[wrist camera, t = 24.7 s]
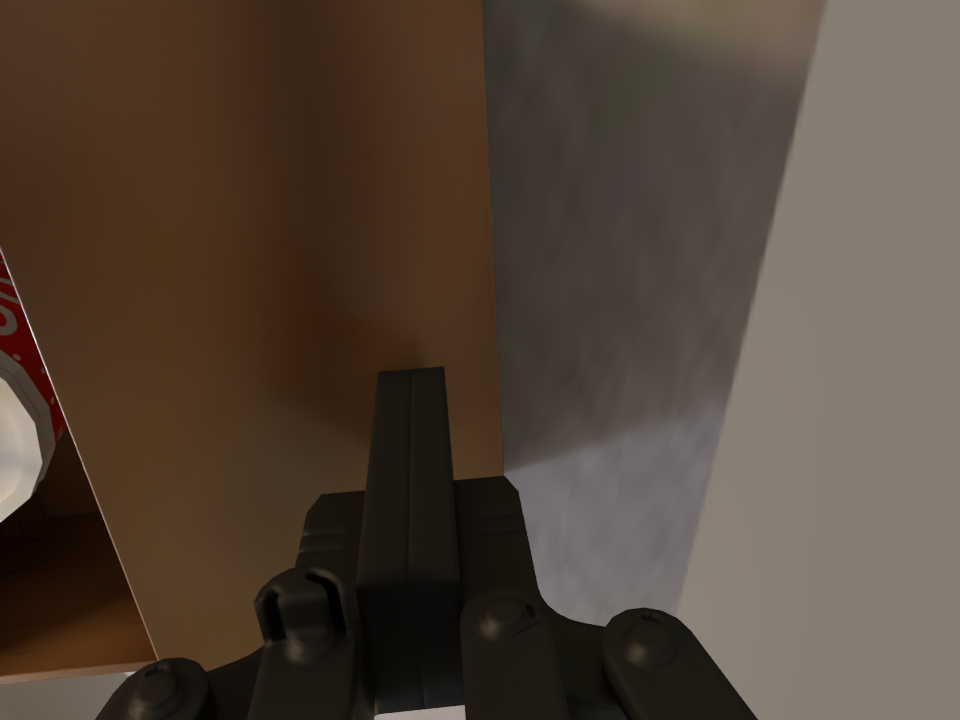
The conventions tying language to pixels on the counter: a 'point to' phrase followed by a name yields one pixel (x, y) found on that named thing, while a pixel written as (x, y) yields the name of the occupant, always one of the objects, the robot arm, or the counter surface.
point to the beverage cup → (23, 405)
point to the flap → (244, 266)
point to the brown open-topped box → (65, 585)
